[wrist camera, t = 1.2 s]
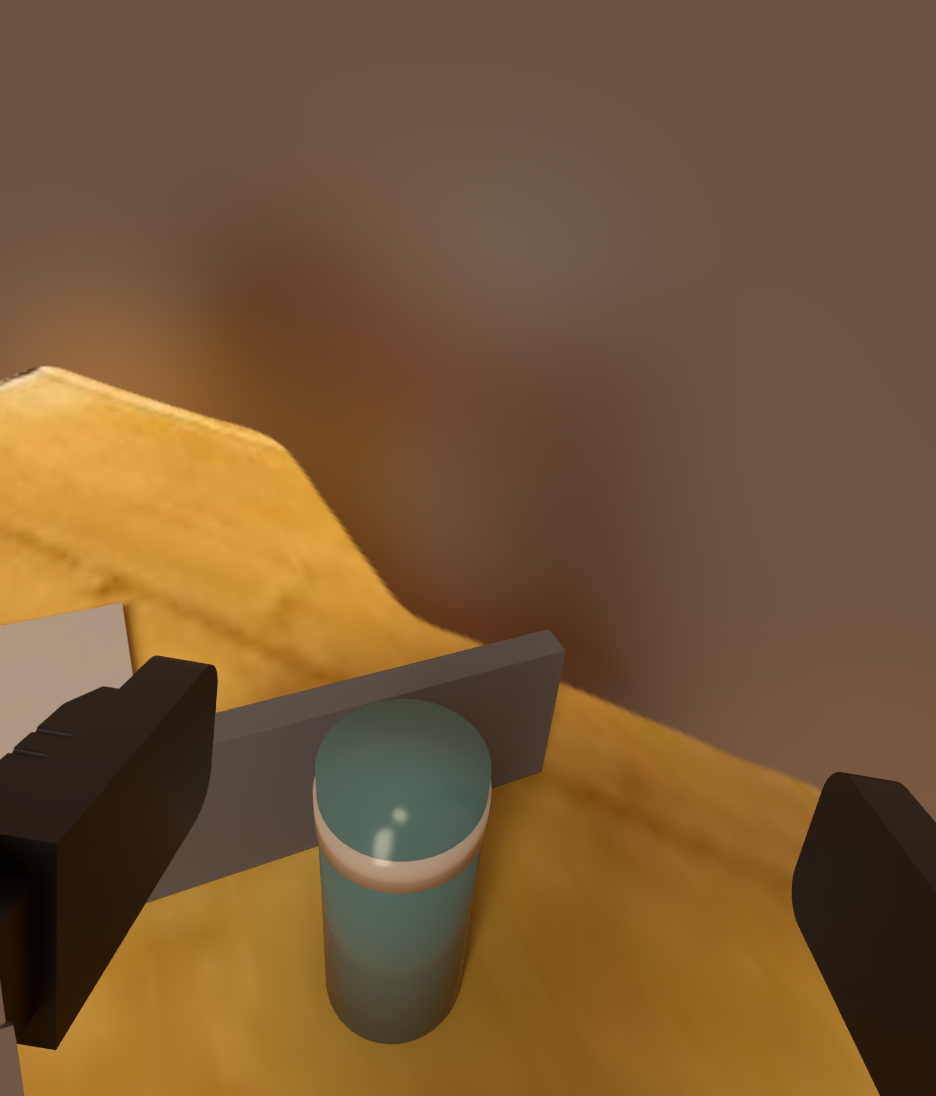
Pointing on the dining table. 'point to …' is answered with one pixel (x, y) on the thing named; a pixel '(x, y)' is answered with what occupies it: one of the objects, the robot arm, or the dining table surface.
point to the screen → (306, 717)
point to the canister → (398, 862)
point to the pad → (58, 665)
